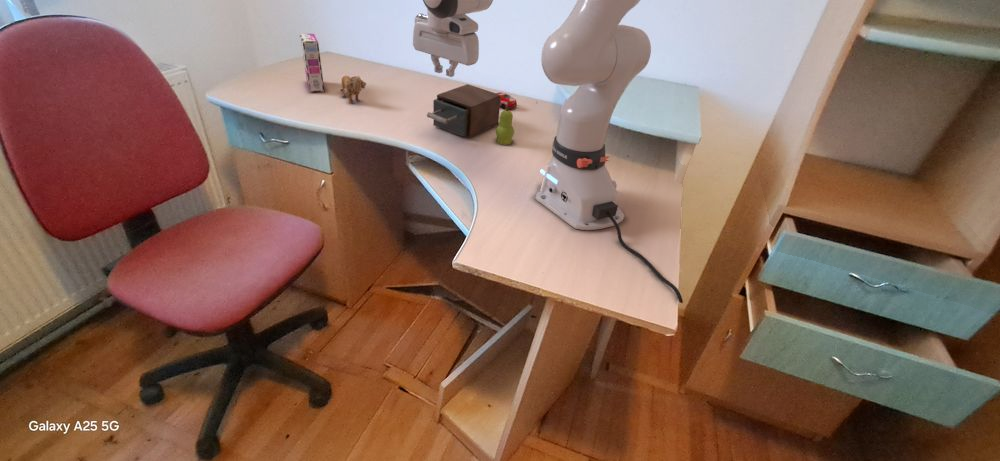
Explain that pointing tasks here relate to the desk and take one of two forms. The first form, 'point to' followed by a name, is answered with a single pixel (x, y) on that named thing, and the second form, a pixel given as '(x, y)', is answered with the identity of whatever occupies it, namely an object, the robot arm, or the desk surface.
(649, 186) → the desk surface
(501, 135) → the pear
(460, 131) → the drawer
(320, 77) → the candy bar box
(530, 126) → the desk surface
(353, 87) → the lion figurine
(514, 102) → the race car
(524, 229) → the desk surface
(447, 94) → the cabinet
